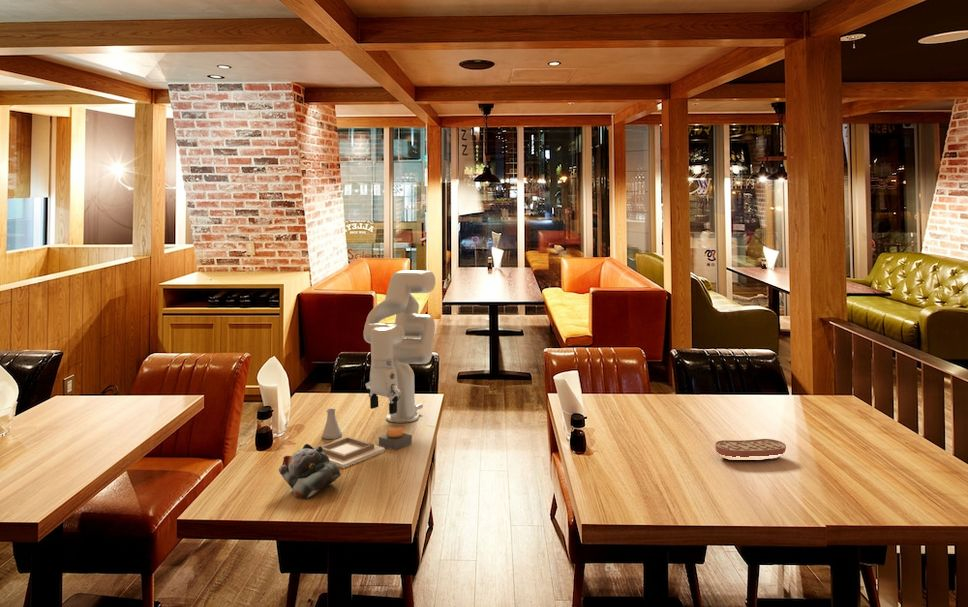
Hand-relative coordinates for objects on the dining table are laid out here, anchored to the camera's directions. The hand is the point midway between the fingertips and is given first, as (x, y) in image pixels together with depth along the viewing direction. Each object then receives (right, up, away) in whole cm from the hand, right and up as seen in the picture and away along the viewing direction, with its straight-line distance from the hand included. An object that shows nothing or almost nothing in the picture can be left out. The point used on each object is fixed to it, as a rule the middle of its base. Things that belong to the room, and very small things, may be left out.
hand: (383, 410), depth 224 cm
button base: (+4, -11, -2) cm, 12 cm away
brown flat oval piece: (+122, -14, -15) cm, 124 cm away
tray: (-11, -13, -10) cm, 20 cm away
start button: (+4, -11, -2) cm, 12 cm away
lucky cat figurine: (-15, -17, -38) cm, 44 cm away
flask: (-20, -11, +6) cm, 23 cm away
